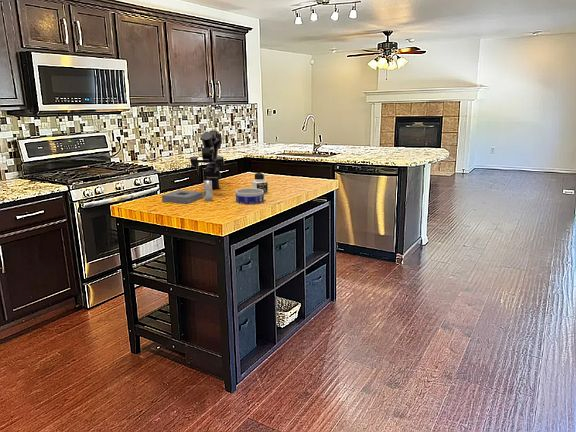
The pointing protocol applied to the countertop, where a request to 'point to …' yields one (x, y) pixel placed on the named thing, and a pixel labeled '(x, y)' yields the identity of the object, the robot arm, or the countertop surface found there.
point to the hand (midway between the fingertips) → (206, 172)
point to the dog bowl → (249, 195)
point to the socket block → (182, 196)
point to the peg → (208, 190)
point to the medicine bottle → (260, 182)
